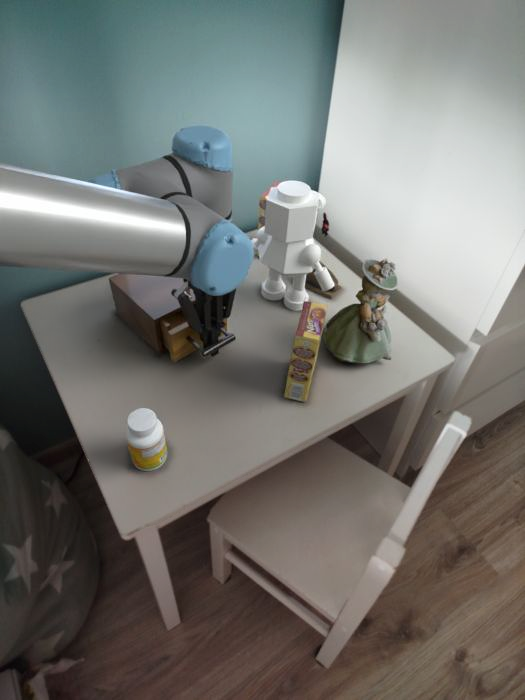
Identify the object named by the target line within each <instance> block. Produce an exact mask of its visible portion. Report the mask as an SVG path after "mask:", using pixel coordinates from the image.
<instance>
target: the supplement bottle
mask: <svg viewBox="0 0 525 700" xmlns="http://www.w3.org/2000/svg"><path fill="white" fill-rule="evenodd" d="M126 423H127V425H126V427H125V432H124V436H125V440H126V445H127V447H128V451H129V454H130V458H131V461H132V464H133V466H134V467H135V468H137V469H138V470H140V471H144V472H150V471H155V470H157V469H159V468H160V467H162V465H163V464H164V463H165V462H166V460H167V458H168V447H167V442H166V437H165V436H166V435H165V430H164V426H163V424H162V422H161V420H160V419H158V418H157V415H156V413H155V412H154V411H153V410H152V409H150V408H147V407H140V408H136V409H134V410H133V411H132V412H130V413H129V414H128V416H127V420H126Z"/></svg>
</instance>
